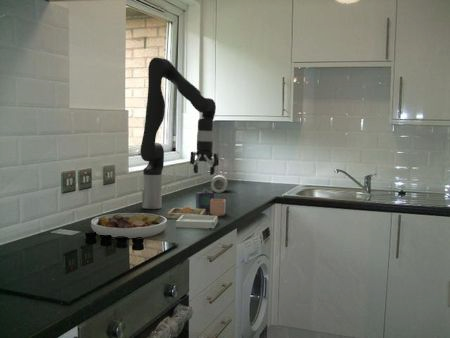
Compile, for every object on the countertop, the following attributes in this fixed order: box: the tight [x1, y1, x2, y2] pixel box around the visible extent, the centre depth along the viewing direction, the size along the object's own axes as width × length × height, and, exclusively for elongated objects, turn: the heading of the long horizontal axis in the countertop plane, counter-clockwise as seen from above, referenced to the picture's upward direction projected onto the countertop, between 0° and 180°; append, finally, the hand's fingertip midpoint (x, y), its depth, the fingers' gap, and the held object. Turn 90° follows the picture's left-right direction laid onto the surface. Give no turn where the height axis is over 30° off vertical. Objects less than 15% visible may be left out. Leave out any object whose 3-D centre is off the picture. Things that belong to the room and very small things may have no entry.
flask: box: [195, 188, 215, 211], centre depth 249 cm, size 9×3×11 cm, turn 109°
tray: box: [175, 214, 219, 230], centre depth 214 cm, size 16×14×3 cm
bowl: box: [90, 212, 168, 239], centre depth 199 cm, size 30×30×8 cm
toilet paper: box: [210, 174, 228, 194], centre depth 312 cm, size 10×10×10 cm
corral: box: [166, 207, 207, 219], centre depth 233 cm, size 16×14×2 cm
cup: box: [209, 198, 226, 217], centre depth 237 cm, size 7×7×7 cm
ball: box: [182, 205, 192, 214], centre depth 233 cm, size 4×4×4 cm
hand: (203, 173), depth 236 cm, fingers open, 8 cm apart
